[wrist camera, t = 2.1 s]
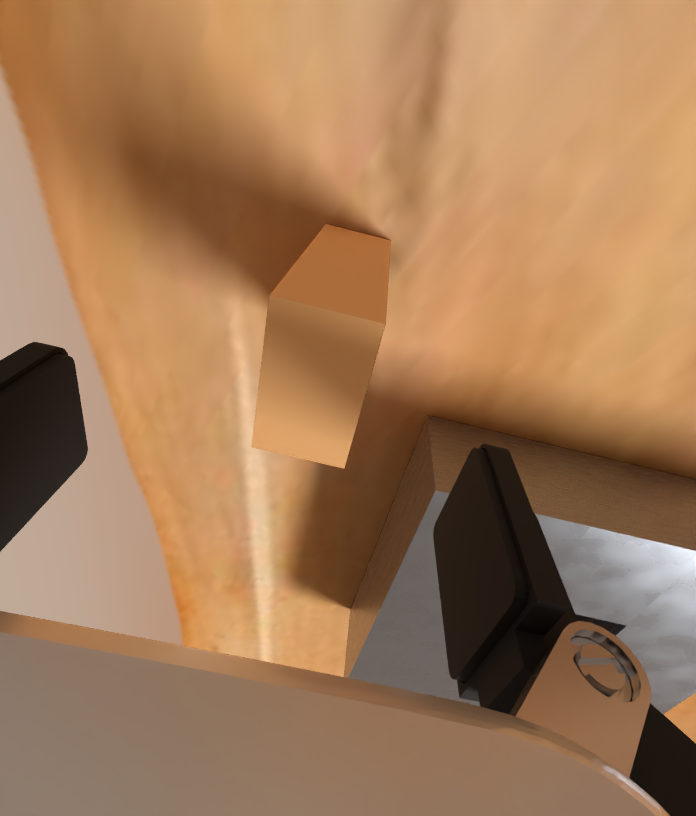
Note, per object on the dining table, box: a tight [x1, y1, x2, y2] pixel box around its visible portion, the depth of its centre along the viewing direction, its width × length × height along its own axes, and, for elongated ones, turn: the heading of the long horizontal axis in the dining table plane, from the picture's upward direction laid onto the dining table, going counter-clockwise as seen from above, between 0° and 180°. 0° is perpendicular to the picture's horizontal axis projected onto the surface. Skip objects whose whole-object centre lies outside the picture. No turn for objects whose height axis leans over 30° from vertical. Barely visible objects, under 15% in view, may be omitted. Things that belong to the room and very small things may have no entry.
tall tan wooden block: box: [252, 224, 391, 469], centre depth 16 cm, size 3×5×10 cm, turn 168°
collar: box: [344, 415, 696, 714], centre depth 27 cm, size 20×20×6 cm
